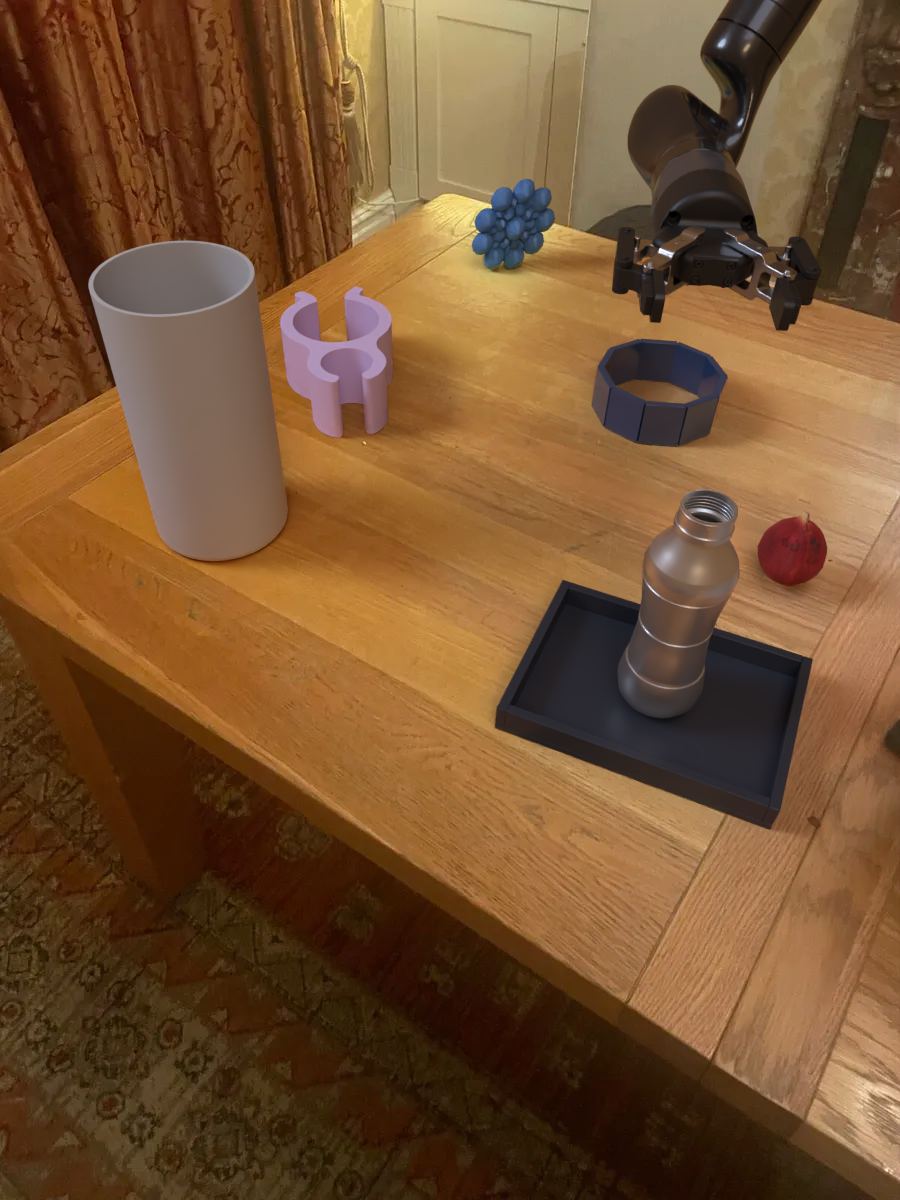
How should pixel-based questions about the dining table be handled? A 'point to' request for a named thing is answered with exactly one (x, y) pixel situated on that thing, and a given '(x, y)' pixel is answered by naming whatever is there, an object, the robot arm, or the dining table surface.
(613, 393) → the blue faceted ring
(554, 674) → the tray
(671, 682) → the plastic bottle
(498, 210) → the grapes
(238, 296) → the cylinder vase
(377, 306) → the clip
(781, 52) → the robot arm
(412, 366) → the dining table surface
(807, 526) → the onion
